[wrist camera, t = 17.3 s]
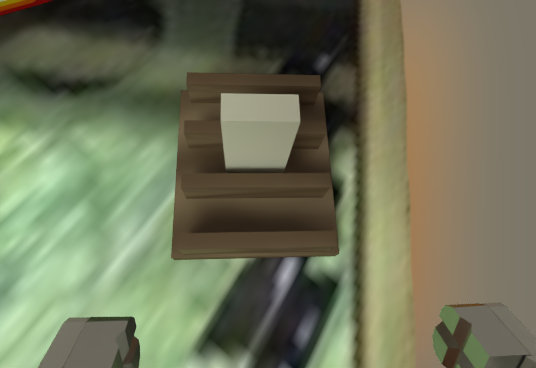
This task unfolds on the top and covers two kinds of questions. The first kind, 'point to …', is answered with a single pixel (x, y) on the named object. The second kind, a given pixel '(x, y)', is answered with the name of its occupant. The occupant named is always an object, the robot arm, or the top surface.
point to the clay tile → (258, 131)
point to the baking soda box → (18, 5)
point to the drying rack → (251, 178)
